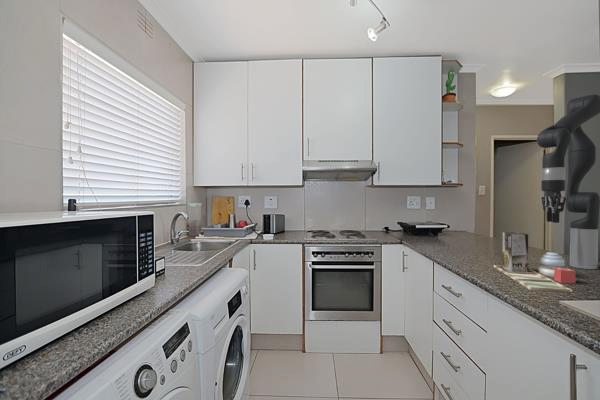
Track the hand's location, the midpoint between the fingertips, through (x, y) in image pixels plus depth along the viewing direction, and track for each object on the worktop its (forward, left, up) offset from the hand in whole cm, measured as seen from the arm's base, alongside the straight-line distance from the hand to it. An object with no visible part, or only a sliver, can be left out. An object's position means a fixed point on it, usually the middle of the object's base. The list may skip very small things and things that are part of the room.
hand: (552, 221), depth 128 cm
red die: (+11, -1, -21) cm, 24 cm away
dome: (0, 0, -17) cm, 17 cm away
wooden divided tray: (+8, -12, -21) cm, 26 cm away
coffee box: (-4, -12, -21) cm, 25 cm away
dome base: (0, 0, -21) cm, 21 cm away
